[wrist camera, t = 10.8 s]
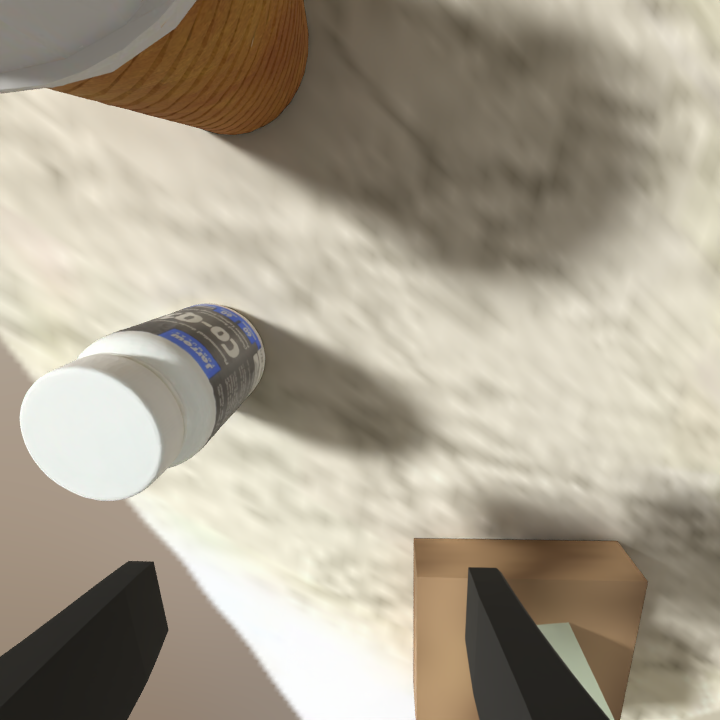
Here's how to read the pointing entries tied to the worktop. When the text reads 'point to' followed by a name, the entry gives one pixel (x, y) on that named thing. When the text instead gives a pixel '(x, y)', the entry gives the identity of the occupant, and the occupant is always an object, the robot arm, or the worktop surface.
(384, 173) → the worktop surface
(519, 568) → the walnut base
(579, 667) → the sage block
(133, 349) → the pill bottle
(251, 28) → the disposable coffee cup
